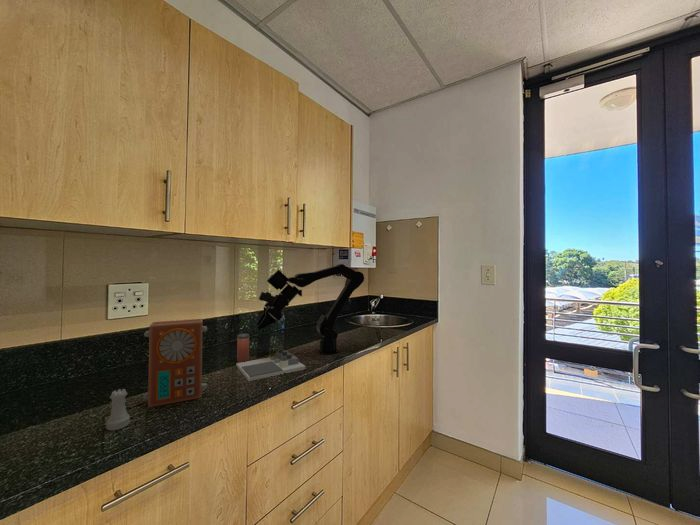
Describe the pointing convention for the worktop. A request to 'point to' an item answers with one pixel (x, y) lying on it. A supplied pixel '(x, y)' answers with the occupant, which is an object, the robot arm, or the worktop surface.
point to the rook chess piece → (118, 411)
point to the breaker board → (270, 366)
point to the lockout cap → (242, 347)
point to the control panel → (175, 361)
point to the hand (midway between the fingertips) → (258, 326)
